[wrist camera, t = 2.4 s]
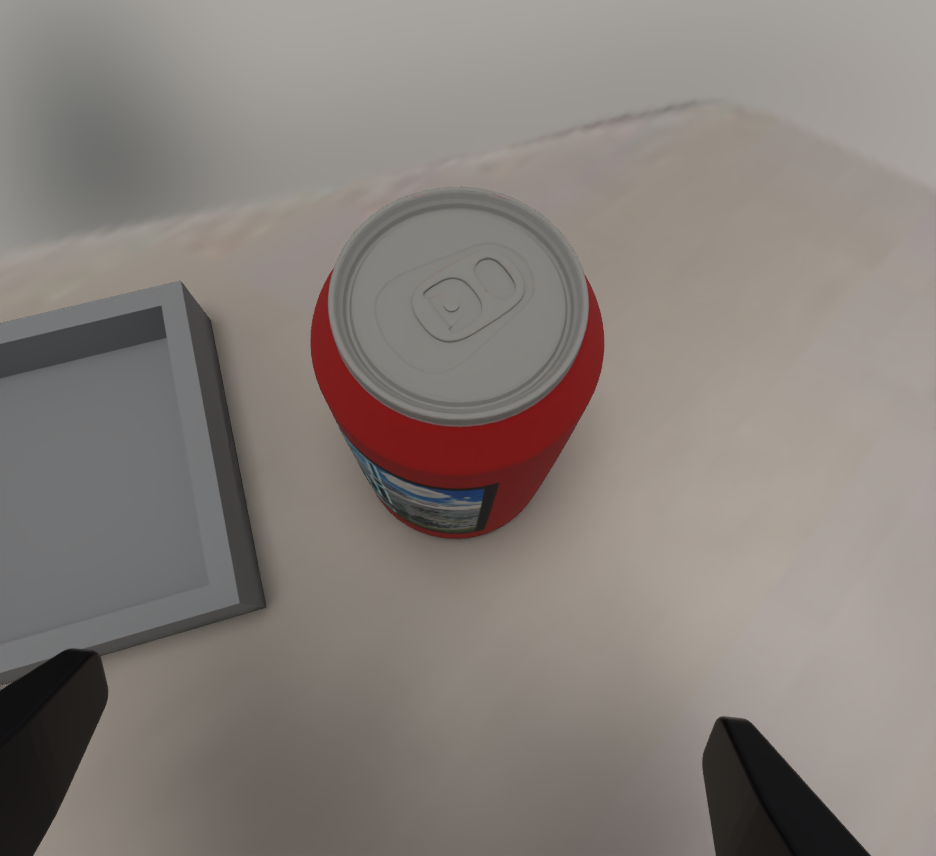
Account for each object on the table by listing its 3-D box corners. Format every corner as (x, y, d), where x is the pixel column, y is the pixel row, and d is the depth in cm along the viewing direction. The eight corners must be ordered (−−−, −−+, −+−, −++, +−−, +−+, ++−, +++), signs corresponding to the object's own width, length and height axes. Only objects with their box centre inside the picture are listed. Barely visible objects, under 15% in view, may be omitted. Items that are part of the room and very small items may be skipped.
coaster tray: (266, 607, 23) (239, 603, 20) (-82, 709, 22) (-164, 720, 19) (210, 319, 26) (180, 280, 23) (-94, 393, 25) (-166, 362, 22)
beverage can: (332, 431, 25) (231, 257, 13) (476, 340, 26) (496, 110, 15) (431, 580, 23) (412, 526, 12) (580, 475, 25) (692, 335, 13)
